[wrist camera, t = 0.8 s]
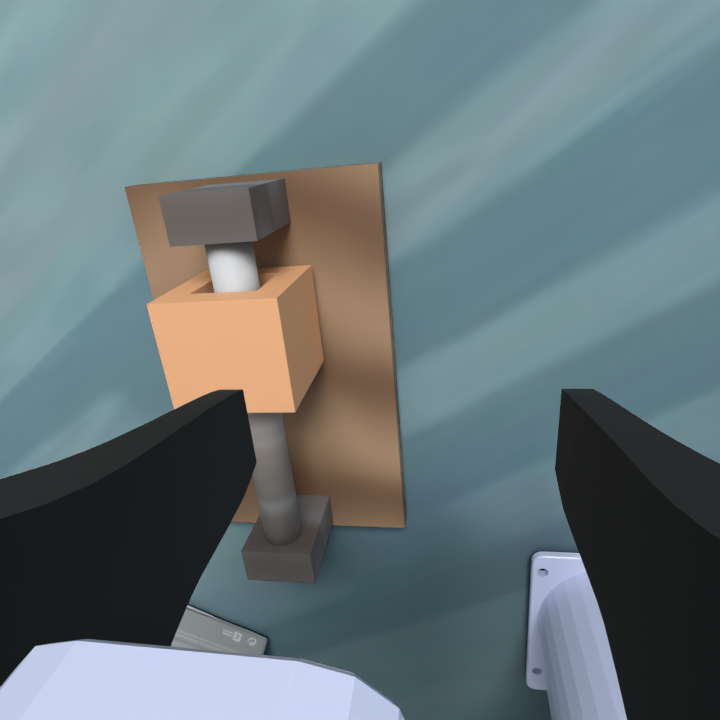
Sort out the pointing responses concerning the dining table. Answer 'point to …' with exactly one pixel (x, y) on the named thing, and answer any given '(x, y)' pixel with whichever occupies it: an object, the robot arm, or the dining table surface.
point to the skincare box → (215, 634)
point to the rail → (338, 337)
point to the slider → (241, 339)
